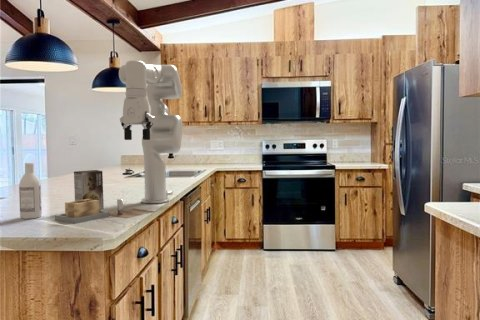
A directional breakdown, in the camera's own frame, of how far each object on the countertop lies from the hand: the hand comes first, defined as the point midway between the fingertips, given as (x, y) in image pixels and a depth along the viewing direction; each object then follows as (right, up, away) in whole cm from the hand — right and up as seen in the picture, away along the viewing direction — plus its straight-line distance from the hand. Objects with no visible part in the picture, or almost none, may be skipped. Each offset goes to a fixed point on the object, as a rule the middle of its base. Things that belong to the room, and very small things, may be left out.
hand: (137, 139), depth 145 cm
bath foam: (-38, -29, -5) cm, 48 cm away
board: (-2, -28, -1) cm, 28 cm away
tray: (-17, -29, -9) cm, 35 cm away
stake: (-5, -29, -3) cm, 29 cm away
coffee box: (-21, -28, +7) cm, 36 cm away
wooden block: (-17, -28, -9) cm, 34 cm away
